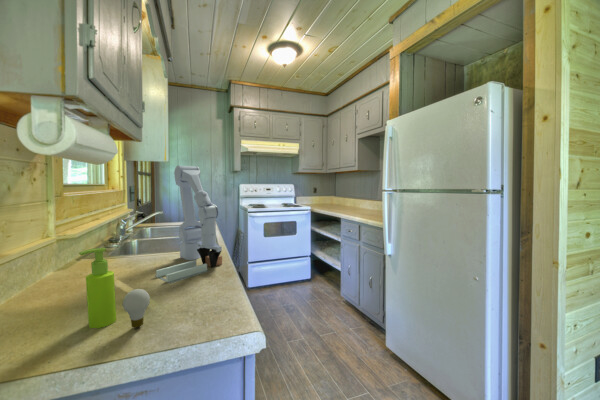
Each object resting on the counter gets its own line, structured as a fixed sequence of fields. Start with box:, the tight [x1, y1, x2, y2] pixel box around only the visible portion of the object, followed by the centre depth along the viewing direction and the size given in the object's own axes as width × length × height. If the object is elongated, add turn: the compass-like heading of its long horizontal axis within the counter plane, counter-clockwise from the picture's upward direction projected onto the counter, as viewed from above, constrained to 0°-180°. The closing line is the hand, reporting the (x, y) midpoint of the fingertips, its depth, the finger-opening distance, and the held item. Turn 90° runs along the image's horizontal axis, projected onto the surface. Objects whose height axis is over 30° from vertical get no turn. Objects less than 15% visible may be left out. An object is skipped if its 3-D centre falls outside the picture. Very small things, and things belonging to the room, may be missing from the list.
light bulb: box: [122, 288, 151, 329], centre depth 68 cm, size 6×6×10 cm
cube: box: [205, 254, 223, 267], centre depth 115 cm, size 5×5×5 cm
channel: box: [154, 259, 210, 284], centre depth 103 cm, size 12×16×4 cm
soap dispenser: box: [78, 247, 117, 329], centre depth 70 cm, size 6×7×20 cm
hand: (209, 265), depth 113 cm, fingers closed on cube, 5 cm apart
